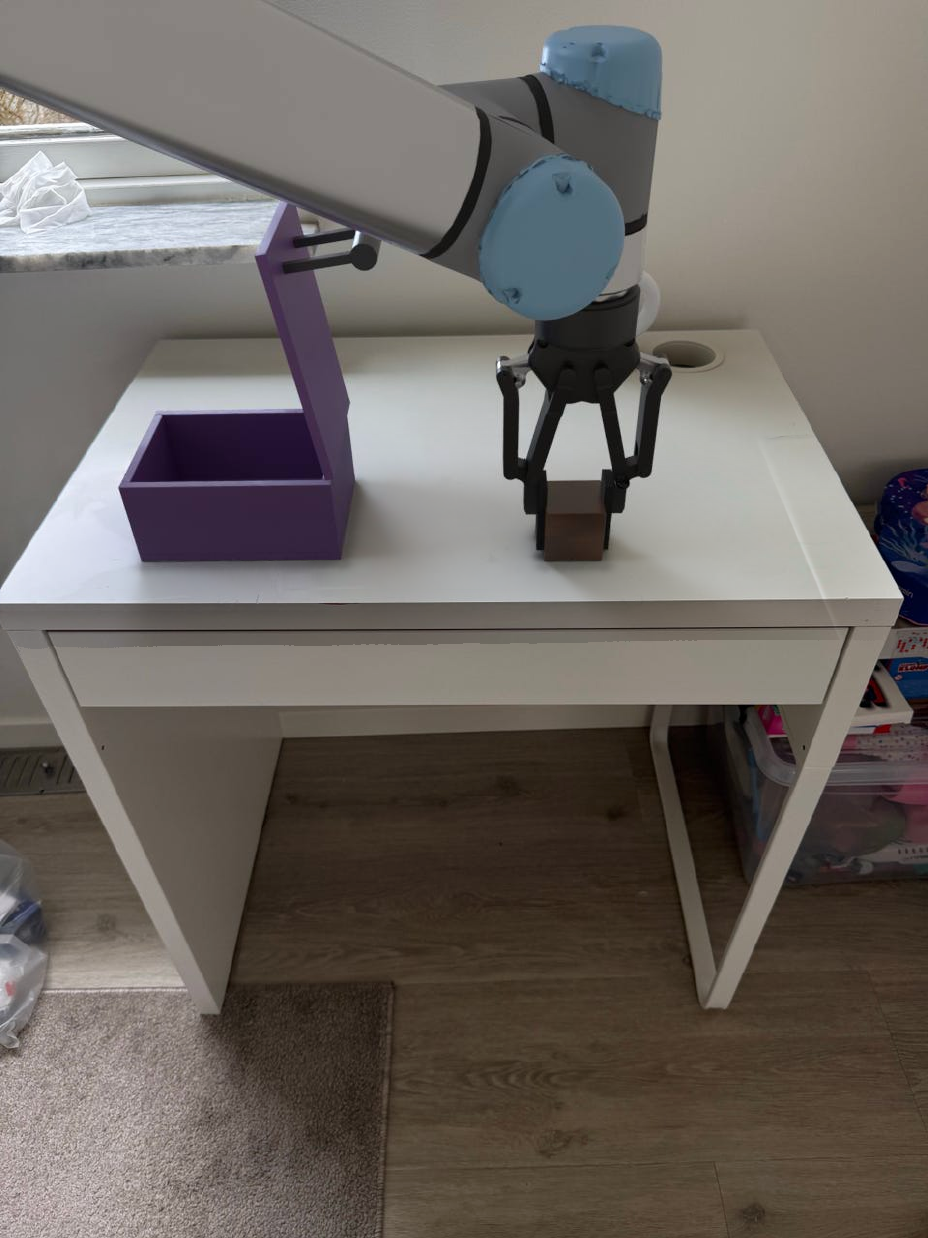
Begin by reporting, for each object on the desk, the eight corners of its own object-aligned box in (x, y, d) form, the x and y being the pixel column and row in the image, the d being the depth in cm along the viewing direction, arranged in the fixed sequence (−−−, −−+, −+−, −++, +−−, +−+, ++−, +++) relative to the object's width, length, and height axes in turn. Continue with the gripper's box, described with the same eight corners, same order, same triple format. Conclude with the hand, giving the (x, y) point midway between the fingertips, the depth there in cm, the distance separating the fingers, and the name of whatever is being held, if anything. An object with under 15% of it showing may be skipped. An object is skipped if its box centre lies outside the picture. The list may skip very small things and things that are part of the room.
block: (544, 561, 82) (546, 514, 78) (541, 526, 85) (543, 480, 82) (602, 560, 82) (606, 513, 78) (596, 526, 85) (600, 479, 82)
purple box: (141, 561, 83) (117, 487, 78) (175, 481, 92) (156, 410, 87) (340, 559, 83) (330, 484, 77) (355, 479, 92) (346, 407, 87)
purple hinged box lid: (254, 255, 65) (364, 237, 64) (282, 194, 74) (379, 177, 73) (325, 480, 77) (418, 468, 76) (341, 403, 86) (425, 391, 86)
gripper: (704, 258, 70) (666, 514, 86) (464, 262, 71) (470, 516, 86) (723, 300, 65) (679, 566, 80) (463, 305, 65) (470, 568, 81)
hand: (571, 540), depth 83 cm, fingers closed on block, 5 cm apart
